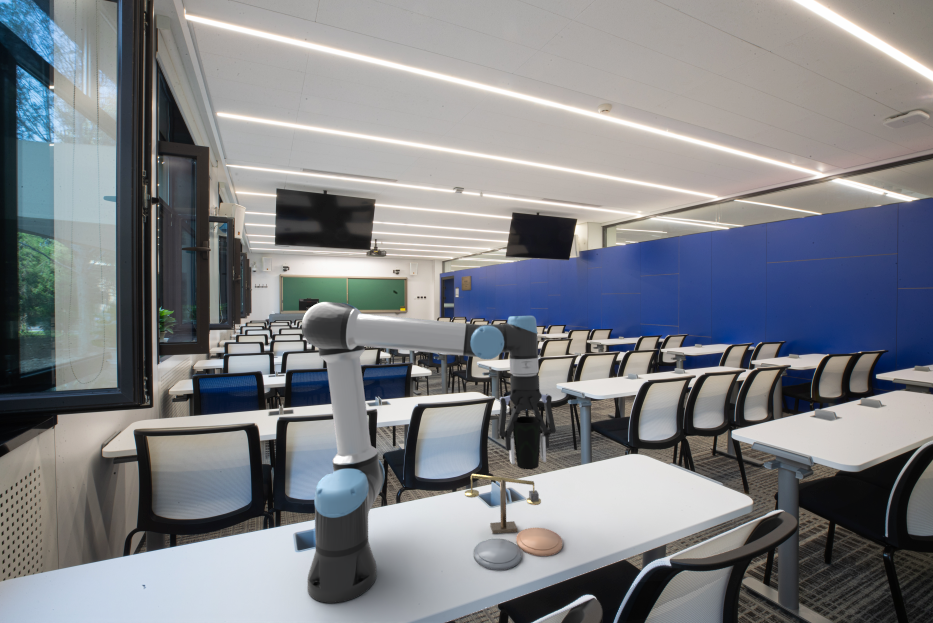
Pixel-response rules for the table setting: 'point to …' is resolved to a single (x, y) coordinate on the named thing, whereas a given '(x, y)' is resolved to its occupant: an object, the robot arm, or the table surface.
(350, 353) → the robot arm
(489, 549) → the dish near
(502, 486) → the balance
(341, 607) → the table surface
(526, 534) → the dish far
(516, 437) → the cup
